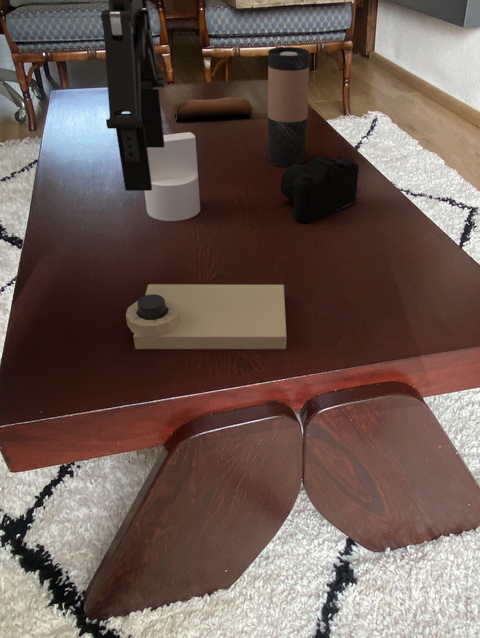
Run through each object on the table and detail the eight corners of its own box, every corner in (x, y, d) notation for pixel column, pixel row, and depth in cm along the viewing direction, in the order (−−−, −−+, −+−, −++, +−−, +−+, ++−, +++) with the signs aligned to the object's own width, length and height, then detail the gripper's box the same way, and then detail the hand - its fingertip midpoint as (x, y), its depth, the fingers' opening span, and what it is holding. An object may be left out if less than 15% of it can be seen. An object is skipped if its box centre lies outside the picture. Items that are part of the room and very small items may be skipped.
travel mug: (312, 159, 124) (317, 50, 111) (292, 170, 119) (296, 57, 106) (280, 152, 127) (282, 45, 115) (260, 162, 122) (259, 52, 109)
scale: (126, 349, 72) (122, 325, 70) (142, 296, 82) (138, 273, 80) (286, 349, 73) (286, 325, 71) (283, 296, 82) (284, 274, 80)
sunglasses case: (244, 106, 151) (247, 85, 145) (250, 129, 148) (253, 108, 142) (172, 110, 147) (171, 89, 141) (176, 133, 145) (176, 112, 138)
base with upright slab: (154, 224, 99) (146, 150, 91) (141, 203, 105) (131, 132, 98) (207, 215, 102) (202, 143, 94) (191, 196, 108) (185, 126, 101)
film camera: (322, 186, 113) (325, 137, 107) (362, 202, 107) (368, 151, 102) (262, 209, 104) (262, 157, 99) (303, 228, 99) (305, 173, 93)
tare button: (137, 321, 72) (135, 308, 71) (141, 306, 74) (139, 294, 73) (164, 321, 72) (162, 308, 71) (167, 306, 74) (166, 294, 73)
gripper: (141, -49, 47) (169, 211, 60) (170, -68, 67) (186, 131, 80) (42, -49, 47) (92, 212, 60) (100, -69, 66) (129, 132, 79)
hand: (146, 166), depth 70 cm, fingers open, 13 cm apart
